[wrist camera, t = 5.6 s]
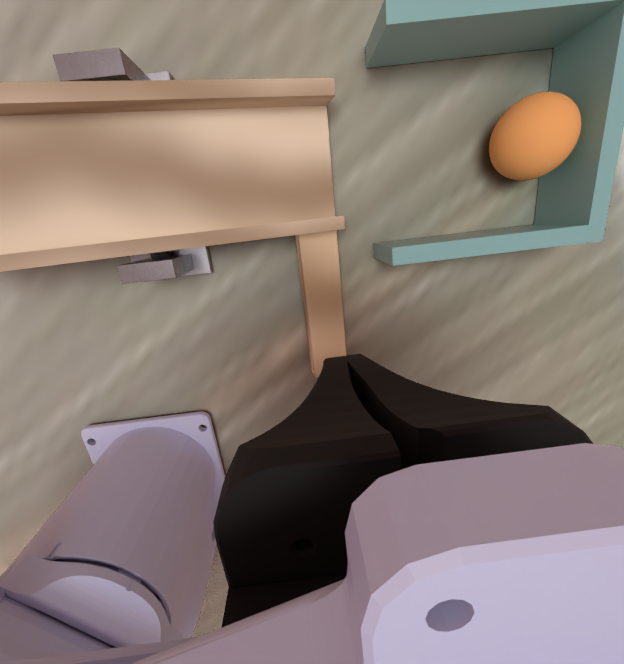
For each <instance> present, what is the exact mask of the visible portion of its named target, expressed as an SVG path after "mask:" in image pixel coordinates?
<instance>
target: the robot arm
mask: <svg viewBox="0 0 624 664" xmlns="http://www.w3.org/2000/svg"><path fill="white" fill-rule="evenodd" d="M201 425H205V426H206V427H207V428H203V427H201ZM81 436H82V439H83V441H84V444H85V446H86V449H87V451H88V453H89V456H90V458H91V461H92V463H93V466H92V467H91V468H90V470H89V471H88V472H87V473H86V475H85V476H84V477H83V478H82V479H81V481H80V482H79V483H78V484H77V485H76V487H75V488H74V489H73V490H72V491H71V493H70V494H69V495H68V496H67V497H66V499H65V500H64V501H63V502H62V503H61V505H60V506H59V507H58V508H57V510H56V511H55V512H54V513H53V514H52V516H51V517H50V518H49V519H48V520H47V522H46V523H45V524H44V525H43V526H42V528H41V529H40V530H39V531H38V532H37V534H36V535H35V536H34V537H33V539H32V540H31V541H30V542H29V543H28V545H27V546H26V547H25V548H24V549H23V551H22V552H21V553H20V554H19V555H18V557H17V558H16V559H15V560H14V561H13V563H12V564H11V565H10V566H9V567H8V569H7V570H6V571H5V572H4V573H3V574H2V575H1V576H0V664H624V449H623V448H622V447H618V446H608V445H598V444H593V442H592V441H591V440H590V439H589V437H588V436H587V435H586V434H585V432H584V431H582V430H581V429H580V428H578V427H577V426H575V425H574V424H573V423H571V422H570V421H569V420H567V419H566V418H564V417H563V416H562V415H560V414H559V413H557V412H556V411H555V410H553V409H552V408H551V407H549V406H540V405H526V404H513V403H502V402H495V401H488V400H481V399H475V398H470V397H464V396H460V395H456V394H452V393H447V392H443V391H440V390H436V389H433V388H430V387H427V386H424V385H421V384H419V383H416V382H413V381H411V380H409V379H406V378H404V377H402V376H400V375H398V374H396V373H394V372H392V371H390V370H388V369H386V368H384V367H382V366H380V365H379V364H377V363H375V362H374V361H372V360H370V359H368V358H367V357H365V356H363V355H361V354H356V355H348V356H339V357H331V358H326V359H325V360H324V361H323V367H322V370H321V373H320V375H319V377H318V380H317V382H316V384H315V385H314V387H313V389H312V390H311V392H310V393H309V395H308V396H307V398H306V399H305V400H304V402H303V403H302V404H301V405H300V406H299V407H298V408H297V409H296V410H295V411H294V412H293V413H292V414H291V415H290V416H289V417H287V418H286V419H285V420H283V421H282V422H281V423H279V424H278V425H276V426H275V427H273V428H272V429H270V430H269V431H267V432H265V433H264V434H262V435H260V436H258V437H256V438H254V439H252V440H250V441H248V442H246V443H244V444H241V445H240V446H239V447H238V449H237V451H236V454H235V456H234V458H233V460H232V462H231V465H230V467H229V469H228V472H227V474H226V477H225V474H224V470H223V466H222V462H221V458H220V454H219V449H218V445H217V441H216V437H215V433H214V429H213V425H212V421H211V417H210V415H209V414H208V413H206V412H202V411H200V412H192V413H184V414H176V415H168V416H160V417H152V418H144V419H136V420H128V421H120V422H112V423H104V424H96V425H89V426H86V427H85V428H84V429H83V430H82V431H81ZM92 439H94V440H95V441H93V440H92ZM216 546H217V547H218V550H219V554H220V557H221V561H222V564H223V568H224V571H225V575H226V578H227V582H228V585H229V589H228V595H227V600H226V606H225V612H224V617H223V623H222V628H220V629H217V630H215V631H212V632H210V633H207V634H205V635H202V636H199V637H192V638H190V637H191V635H192V633H193V631H194V629H195V627H196V625H197V622H198V619H199V616H200V613H201V608H202V604H203V600H204V596H205V592H206V588H207V583H208V579H209V575H210V571H211V567H212V562H213V558H214V554H215V550H216Z"/></svg>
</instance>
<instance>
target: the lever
mask: <svg viewBox="0 0 624 664" xmlns="http://www.w3.org/2000/svg"><path fill="white" fill-rule="evenodd" d="M334 96H335V84H334V78H301V79H219V80H136V81H54V82H0V272H3V271H11V270H19V269H27V268H35V267H43V266H51V265H59V264H67V263H75V262H83V261H91V260H99V259H107V258H115V257H123V256H131V255H139V254H147V253H155V252H163V251H171V250H179V249H187V248H195V247H204V246H212V245H220V244H228V243H236V242H244V241H252V240H260V239H268V238H276V237H284V236H292V235H295V238H296V246H297V254H298V263H299V271H300V279H301V287H302V296H303V304H304V312H305V320H306V329H307V337H308V345H309V353H310V362H311V370H312V373H313V375H314V376H315V377H319V375H320V373H321V370H322V367H323V361H324V360H325V359H326V358H331V357H339V356H347V355H346V343H345V330H344V318H343V306H342V293H341V281H340V268H339V256H338V243H337V231H336V230H340V229H345V223H344V216H336V217H335V206H334V193H333V181H332V168H331V156H330V143H329V131H328V119H327V106H326V105H327V104H328V103H329V102H330V101H331V100H332V98H333V97H334Z"/></svg>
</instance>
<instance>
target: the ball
mask: <svg viewBox="0 0 624 664" xmlns="http://www.w3.org/2000/svg"><path fill="white" fill-rule="evenodd" d="M580 131H581V115H580V111H579V109H578V107H577V105H576V104H575V103H574V101H573V100H572V99H571V98H569V97H568V96H566V95H564V94H561V93H557V92H539V93H535V94H532V95H529V96H527V97H525V98H523V99H521V100H520V101H518V102H516V103H515V104H514V105H513V106H511V107H510V108H509V109H508V110H507V111H506V112H505V113H504V114H503V115H502V117H501V118H500V119H499V121H498V122H497V124H496V125H495V127H494V129H493V132H492V135H491V138H490V143H489V155H490V159H491V162H492V164H493V166H494V168H495V169H496V170H497V171H498V172H499V173H500V174H501V175H503V176H505V177H507V178H509V179H513V180H530V179H535V178H538V177H541V176H543V175H545V174H547V173H549V172H551V171H552V170H554V169H555V168H557V167H558V166H559V165H560V164H561V163H562V162H563V161H564V160H565V159H566V158H567V157H568V156H569V155H570V153H571V152H572V150H573V149H574V147H575V145H576V143H577V141H578V138H579V135H580Z"/></svg>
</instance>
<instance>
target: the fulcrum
mask: <svg viewBox="0 0 624 664" xmlns="http://www.w3.org/2000/svg"><path fill="white" fill-rule="evenodd" d="M53 58H54V61H55V65H56V68H57V71H58V74H59V78H60V81H136V80H173V77H172V75H171V74H170V73H169V71H166V72H157V73H147V74H145V73H144V72H143V71H142V70H141V69H140V68H139V67H138V66H137V65H136V64H135V63H134V62H133V61H132V60H131V59H130V58H129V57H128V56H127V55H126V54H125V53H124V52H123V51H122V50H121V49H120V48H113V49H103V50H94V51H84V52H75V53H65V54H56V55H53ZM129 257H130V261H131V263H127V264H123V265H119V266H117V268H118V271H119V274H120V278H121V281H122V284H126V283H134V282H143V281H151V280H160V279H168V278H176V277H179V276H187V275H196V274H204V273H211V272H213V268H212V263H211V259H210V254H209V249H208V246H204V247H195V248H187V249H179V250H171V251H163V252H155V253H147V254H139V255H131V256H129Z"/></svg>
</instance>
